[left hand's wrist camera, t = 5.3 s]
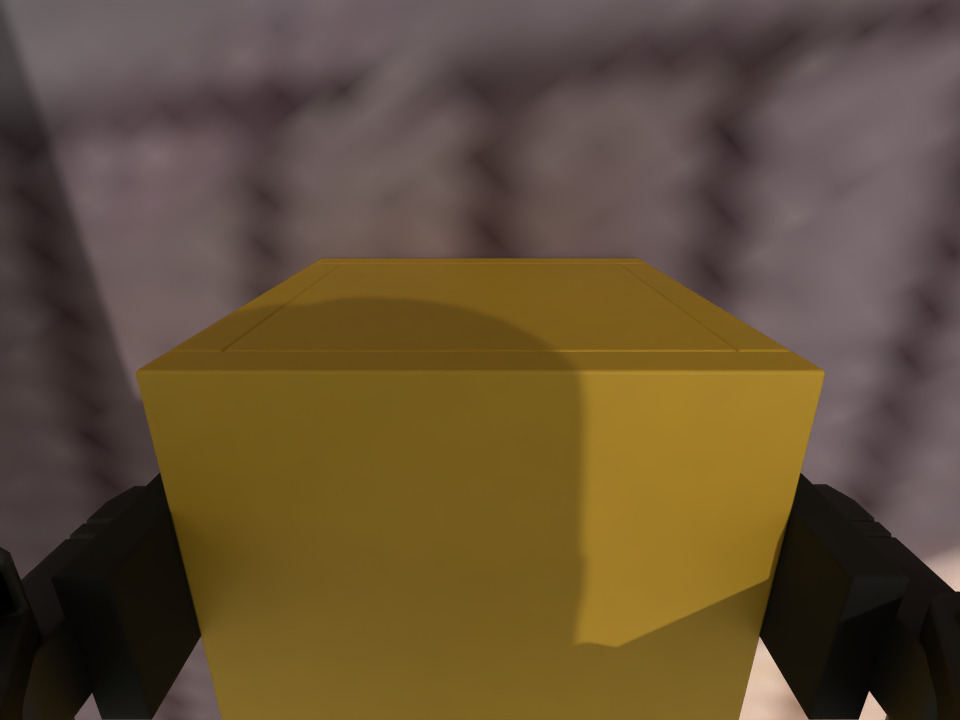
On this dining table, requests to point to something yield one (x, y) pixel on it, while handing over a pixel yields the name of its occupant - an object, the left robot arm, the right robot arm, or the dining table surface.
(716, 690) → the cabinet
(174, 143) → the dining table surface
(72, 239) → the dining table surface
